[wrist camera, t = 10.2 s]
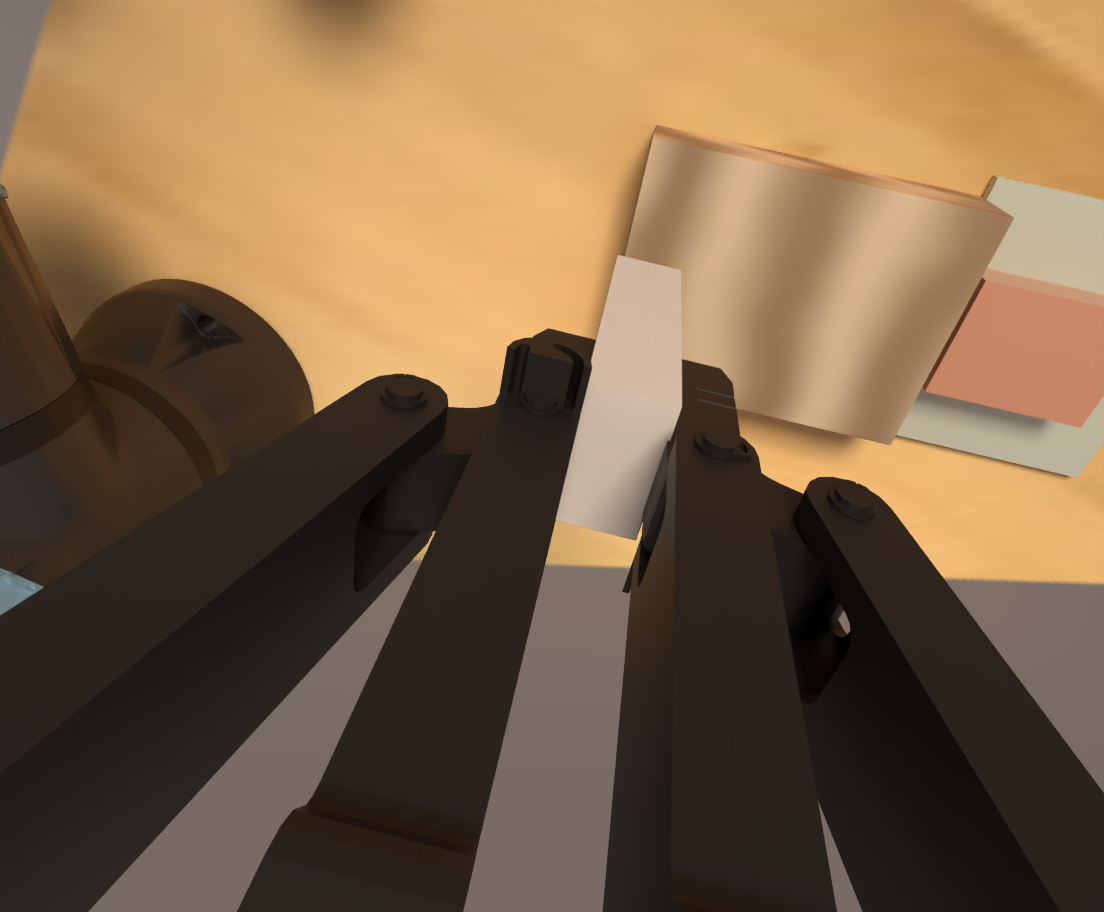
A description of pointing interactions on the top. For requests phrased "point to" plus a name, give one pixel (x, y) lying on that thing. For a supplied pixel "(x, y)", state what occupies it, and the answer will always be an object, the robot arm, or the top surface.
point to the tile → (1026, 350)
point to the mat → (1047, 255)
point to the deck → (811, 276)
